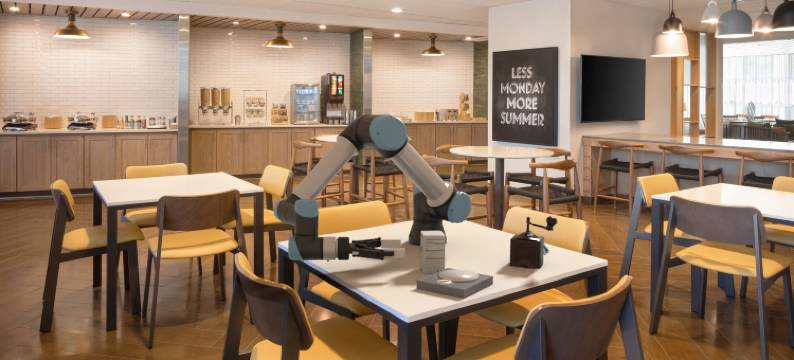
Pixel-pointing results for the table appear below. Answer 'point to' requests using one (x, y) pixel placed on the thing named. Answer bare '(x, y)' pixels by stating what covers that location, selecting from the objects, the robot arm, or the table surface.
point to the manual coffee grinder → (529, 246)
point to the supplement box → (432, 251)
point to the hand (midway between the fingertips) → (402, 248)
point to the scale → (455, 282)
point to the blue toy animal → (544, 246)
